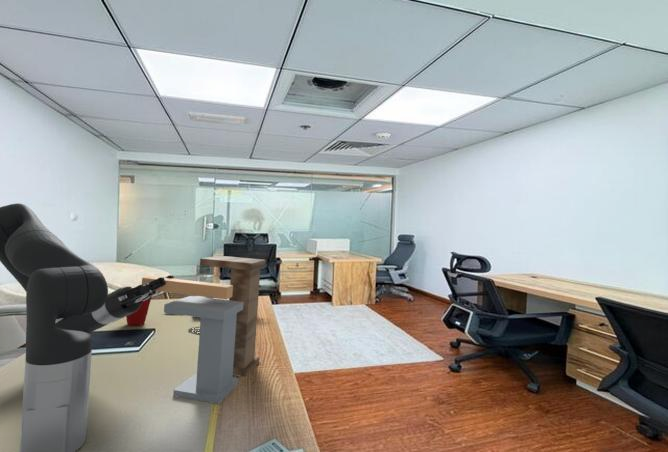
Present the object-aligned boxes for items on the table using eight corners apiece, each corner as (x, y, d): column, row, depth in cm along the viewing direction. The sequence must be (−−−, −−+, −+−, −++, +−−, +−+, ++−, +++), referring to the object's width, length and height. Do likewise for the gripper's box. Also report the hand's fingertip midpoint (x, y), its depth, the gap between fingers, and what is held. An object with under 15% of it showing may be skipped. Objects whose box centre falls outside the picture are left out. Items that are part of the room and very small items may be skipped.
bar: (232, 296, 82) (233, 285, 82) (226, 299, 79) (227, 287, 79) (149, 286, 86) (150, 275, 86) (141, 289, 83) (142, 277, 83)
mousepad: (214, 328, 127) (214, 326, 127) (212, 335, 119) (212, 333, 119) (189, 328, 124) (189, 327, 124) (185, 335, 117) (185, 334, 117)
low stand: (238, 383, 85) (243, 302, 85) (218, 404, 75) (224, 311, 75) (184, 374, 88) (189, 295, 87) (158, 393, 78) (164, 304, 78)
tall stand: (259, 361, 99) (265, 259, 99) (244, 376, 89) (252, 263, 89) (211, 354, 101) (218, 255, 101) (193, 368, 91) (200, 258, 91)
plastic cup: (151, 318, 132) (152, 289, 132) (152, 326, 123) (154, 295, 123) (119, 321, 126) (121, 291, 126) (119, 329, 117) (121, 297, 117)
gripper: (87, 298, 79) (142, 269, 76) (132, 287, 93) (180, 263, 90) (98, 326, 78) (154, 298, 76) (142, 311, 92) (190, 287, 90)
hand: (168, 279), depth 83 cm, fingers closed on bar, 3 cm apart
